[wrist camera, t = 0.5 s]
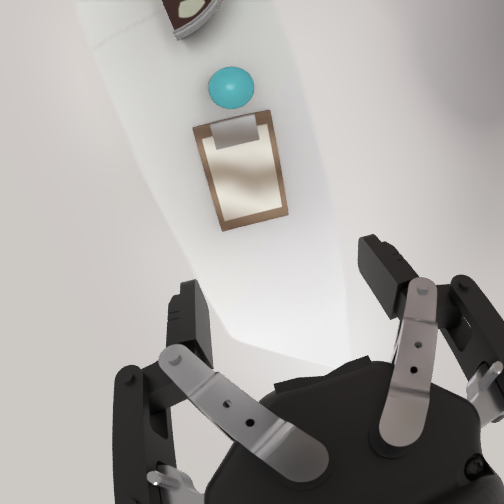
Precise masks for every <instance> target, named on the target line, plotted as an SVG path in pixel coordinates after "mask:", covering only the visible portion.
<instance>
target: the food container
mask: <svg viewBox="0 0 504 504" xmlns="http://www.w3.org/2000/svg"><path fill="white" fill-rule="evenodd" d="M162 1H163V5H164V6H165V9H166V11H167V14H168V16H169V19H170V21H171V23H172V26H173V28H174V31H173V33H174V35H175V37H176V39H177V41H178V40H180V39H182V38H184V37H186V36H188V35H190V34H191V33H193V32H195V31H196V30H198V29H199V28H200V27H201V26H203V25H204V24H205V23H206V22H207V21H208V20H209V19H210V18H211V17H212V16H213V15H214V14H215V12H216V11H217V9H218V8H219V6H220V4H221V3H222V1H223V0H162Z"/></svg>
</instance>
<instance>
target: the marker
mask: <svg viewBox="0 0 504 504" xmlns="http://www.w3.org/2000/svg"><path fill="white" fill-rule="evenodd" d="M208 89H209V94H210V96H211V98H212V100H213V101H214V102H215V103H216V104H217V105H219V106H221V107H223V108H227V109H235V108H239V107H241V106H243V105H245V104H246V103H247V102H248V101H249V100H250V99H251V97H252V95H253V92H254V83H253V80H252V78H251V76H250V75H249V74H248V73H247V72H246V71H245V70H243V69H241V68H238V67H226V68H223V69H221V70H219V71H218V72H216V73H215V74H214V75H213V76H212V78H211V79H210V81H209V84H208Z"/></svg>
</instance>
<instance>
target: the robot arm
mask: <svg viewBox="0 0 504 504" xmlns="http://www.w3.org/2000/svg"><path fill="white" fill-rule="evenodd" d="M358 243H359V244H358V267H359V270H360V273H361V275H362V276H363V278H364V279H365V281H366V282H367V284H368V285H369V287H370V288H371V290H372V291H373V293H374V295H375V296H376V298H377V299H378V301H379V303H380V304H381V305H382V307H383V309H384V311H385V312H386V314H387V315H388V317H389V318H390V320H391V319H394V318H396V317H398V318H399V320H400V322H399V326H398V331H397V336H396V341H395V345H394V350H393V354H392V358H391V361H390V363H388V362H384V361H371V360H370V358H369V356H368V355H367V356H365V357H362V358H359V359H356V360H353V361H350V362H347V363H345V364H344V365H342V366H340V367H339V368H337V369H335V370H334V371H332V372H330V373H329V374H327V375H325V376H317V377H300V378H295V379H291V380H287V381H283V382H280V383H275V384H274V388H275V390H274V391H273V392H271V393H269V394H267V395H266V396H265V397H263V398H262V399H261V400H260V401H259V402H257V401H256V400H254V399H253V398H252V397H250V396H249V395H248V394H247V393H245V392H244V391H243V390H241V389H240V388H239V387H238V386H236V385H235V384H234V383H232V382H231V381H230V380H229V379H227V378H226V377H225V376H224V375H222V374H221V373H219V372H214V371H213V370H212V369H214V368H213V357H212V347H211V333H210V320H209V310H208V306H207V303H206V300H205V298H204V295H203V293H202V291H201V288H200V286H199V284H198V281H197V280H196V279H194V280H190V281H186V282H182V283H181V286H180V294H179V295H174V296H173V297H172V299H171V301H170V303H169V305H168V322H167V337H166V348H165V349H164V350H163V351H162V352H161V354H160V356H159V359H158V361H156V362H155V363H153V364H152V365H149V366H147V367H145V368H143V369H140V368H139V367H138V366H135V365H128V366H125V367H124V368H122V369H121V370H120V371H119V372H118V373H117V375H116V377H115V384H114V402H113V433H112V435H113V436H112V450H113V479H114V480H113V481H114V496H115V504H504V485H503V483H502V480H501V478H500V477H499V476H498V475H497V473H495V471H494V470H493V469H492V468H491V467H490V466H489V464H488V463H487V462H486V460H485V459H484V457H483V454H482V450H481V443H480V432H481V431H480V429H481V428H482V427H484V426H485V425H487V424H488V423H490V422H493V423H496V422H499V421H500V420H502V419H503V418H504V321H503V319H502V318H501V316H500V315H499V314H498V312H497V311H496V309H495V308H494V307H493V305H492V304H491V303H490V301H489V300H488V298H487V297H486V296H485V294H484V293H483V292H482V291H481V289H480V288H479V287H478V285H477V284H476V283H475V282H474V281H473V280H472V279H471V278H470V277H468V276H466V275H456V276H455V277H453V278H452V281H451V284H446V285H435V283H434V282H433V281H431V280H430V279H427V278H423V277H419V276H418V275H417V273H416V272H415V271H414V270H413V269H412V267H411V266H410V265H409V264H408V262H407V261H406V260H405V259H404V258H403V257H402V255H401V254H399V252H398V251H397V249H396V248H395V247H394V246H392V245H391V244H389V243H387V242H381V241H380V240H379V239H378V238H377V237H376V236H375V235H374V234H371V235H368V236H364V237H361V238H359V242H358ZM465 319H466V320H467V321H466V320H465ZM467 322H468V323H469V324H468V323H467ZM469 325H470V326H469ZM438 329H440V331H441V332H442V334H443V336H444V337H445V339H446V341H447V343H448V344H449V346H450V348H451V350H452V352H453V353H454V355H455V357H456V359H457V361H458V363H459V365H460V366H461V368H462V370H463V372H464V374H465V376H466V378H467V380H468V384H467V387H466V392H467V399H465V398H463V397H461V396H459V395H456V394H454V393H452V392H450V391H448V390H446V389H443V388H442V387H439V386H438V385H435V384H433V383H431V379H432V372H433V366H434V359H435V351H436V341H437V332H438ZM186 399H188V400H189V401H190V402H191V403H192V404H193V405H194V406H195V407H196V408H198V410H199V411H200V412H201V413H202V414H204V415H205V416H206V417H207V418H208V419H209V420H210V421H211V422H212V423H213V424H214V425H216V427H217V428H218V429H219V430H220V431H222V432H223V433H224V434H225V435H226V436H227V437H228V438H230V439H231V440H232V441H233V442H234V443H233V444H232V446H231V448H230V449H229V451H228V453H227V454H226V456H225V458H224V459H223V461H222V463H221V464H220V466H219V467H218V469H217V471H216V472H215V474H214V475H213V477H212V479H211V480H210V482H209V483H208V485H207V487H206V490H205V493H204V494H201V493H199V492H198V491H197V490H196V489H195V487H194V485H193V482H192V480H191V478H190V477H189V476H188V475H187V474H186V473H184V472H182V471H180V470H177V467H176V459H175V450H174V441H173V432H172V421H171V410H170V407H171V406H173V405H175V404H177V403H179V402H181V401H184V400H186Z"/></svg>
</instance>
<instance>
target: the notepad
mask: <svg viewBox="0 0 504 504" xmlns="http://www.w3.org/2000/svg"><path fill="white" fill-rule="evenodd" d="M193 131H194V135H195V139H196V142H197V146H198V150H199V153H200V157H201V160H202V164H203V167H204V171H205V174H206V178H207V181H208V185H209V188H210V192H211V195H212V199H213V202H214V206H215V209H216V213H217V216H218V219H219V223H220V226H221V230H222V232H223V231H227V230H230V229H234V228H238V227H242V226H246V225H250V224H254V223H258V222H262V221H266V220H270V219H274V218H278V217H282V216H286V215H288V208H287V202H286V196H285V190H284V184H283V178H282V172H281V166H280V161H279V155H278V149H277V144H276V138H275V133H274V128H273V122H272V117H271V112H270V110H265V111H260V112H255V113H250V114H246V115H241V116H237V117H232V118H228V119H224V120H220V121H216V122H212V123H208V124H204V125H201V126H197V127H193Z"/></svg>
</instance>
